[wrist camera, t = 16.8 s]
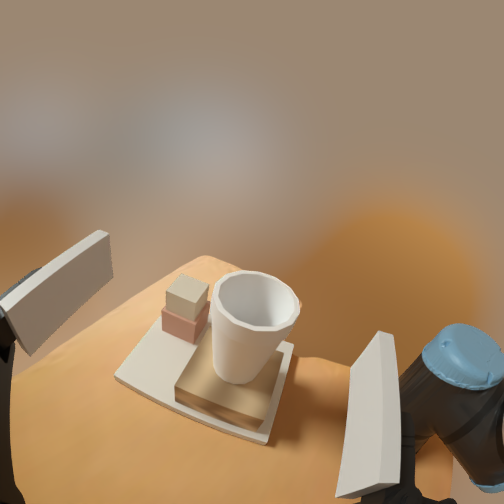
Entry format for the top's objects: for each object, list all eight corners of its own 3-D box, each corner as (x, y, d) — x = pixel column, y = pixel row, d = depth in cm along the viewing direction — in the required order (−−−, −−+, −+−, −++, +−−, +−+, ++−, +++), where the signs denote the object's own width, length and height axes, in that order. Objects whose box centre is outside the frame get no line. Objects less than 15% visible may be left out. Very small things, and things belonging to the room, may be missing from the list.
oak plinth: (275, 370, 41) (284, 352, 39) (255, 432, 31) (264, 420, 29) (206, 345, 43) (209, 325, 40) (174, 401, 33) (174, 385, 30)
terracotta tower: (207, 321, 48) (213, 283, 43) (193, 344, 42) (197, 306, 38) (178, 309, 48) (180, 270, 44) (161, 330, 43) (161, 291, 39)
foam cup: (279, 385, 34) (315, 322, 27) (214, 401, 30) (230, 339, 23) (253, 335, 41) (276, 267, 34) (194, 343, 37) (203, 272, 30)
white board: (291, 349, 48) (294, 344, 47) (264, 445, 31) (267, 442, 30) (173, 304, 51) (173, 299, 50) (115, 379, 34) (113, 374, 33)
